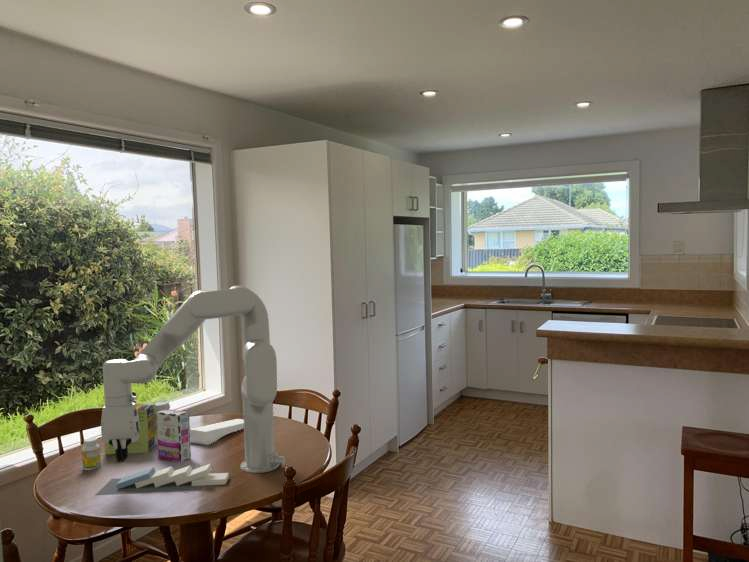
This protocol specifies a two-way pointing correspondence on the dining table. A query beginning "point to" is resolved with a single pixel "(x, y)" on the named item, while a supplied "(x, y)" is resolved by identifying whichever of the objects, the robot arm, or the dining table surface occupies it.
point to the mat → (145, 488)
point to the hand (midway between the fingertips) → (122, 460)
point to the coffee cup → (161, 406)
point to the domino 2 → (175, 476)
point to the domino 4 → (211, 479)
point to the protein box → (142, 431)
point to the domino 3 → (195, 474)
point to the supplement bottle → (91, 454)
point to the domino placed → (135, 478)
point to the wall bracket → (214, 431)
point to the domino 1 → (156, 477)
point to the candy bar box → (173, 435)
